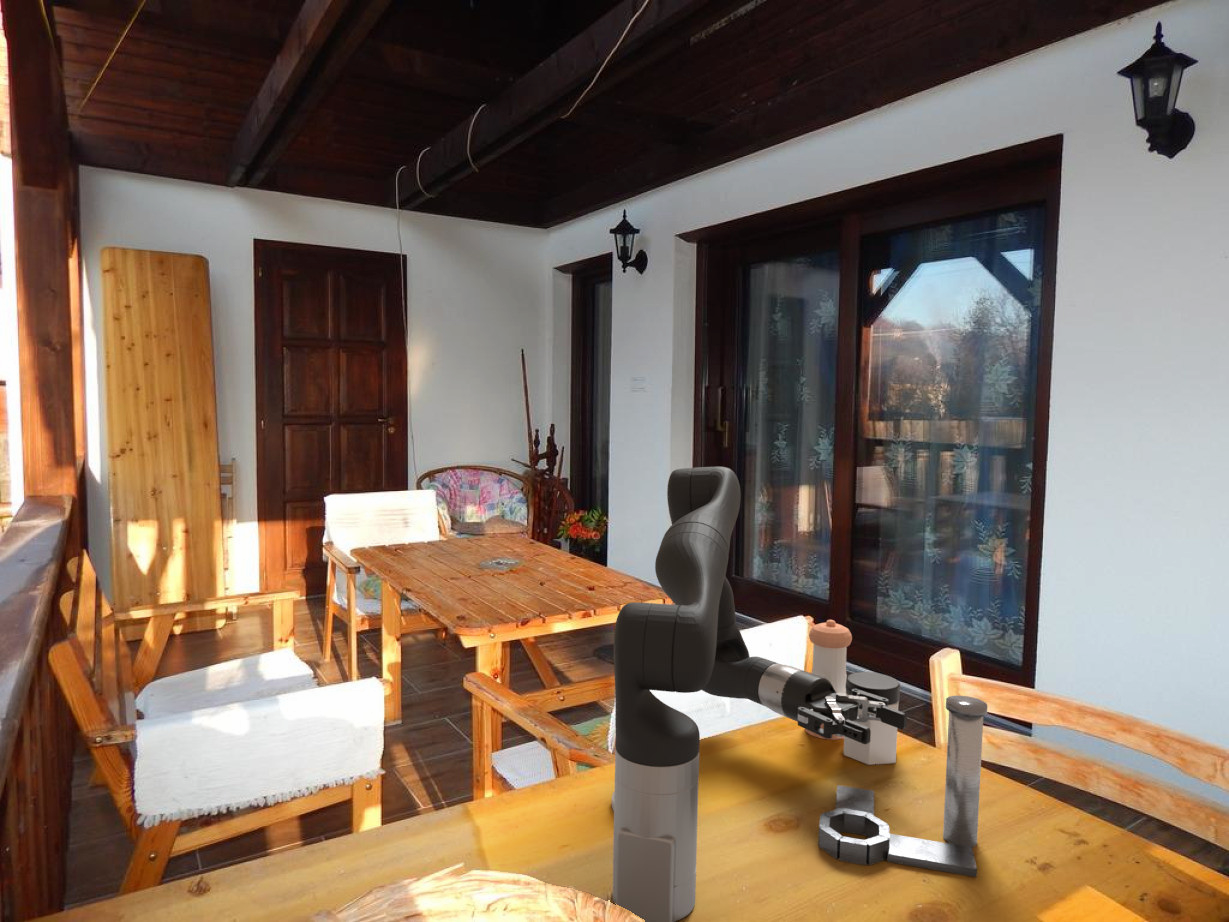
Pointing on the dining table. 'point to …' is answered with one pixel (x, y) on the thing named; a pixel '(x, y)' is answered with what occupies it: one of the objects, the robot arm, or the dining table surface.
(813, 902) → the dining table surface
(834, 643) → the pepper shaker
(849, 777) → the dining table surface
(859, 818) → the box end wrench
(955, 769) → the pin
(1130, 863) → the dining table surface
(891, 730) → the jar
